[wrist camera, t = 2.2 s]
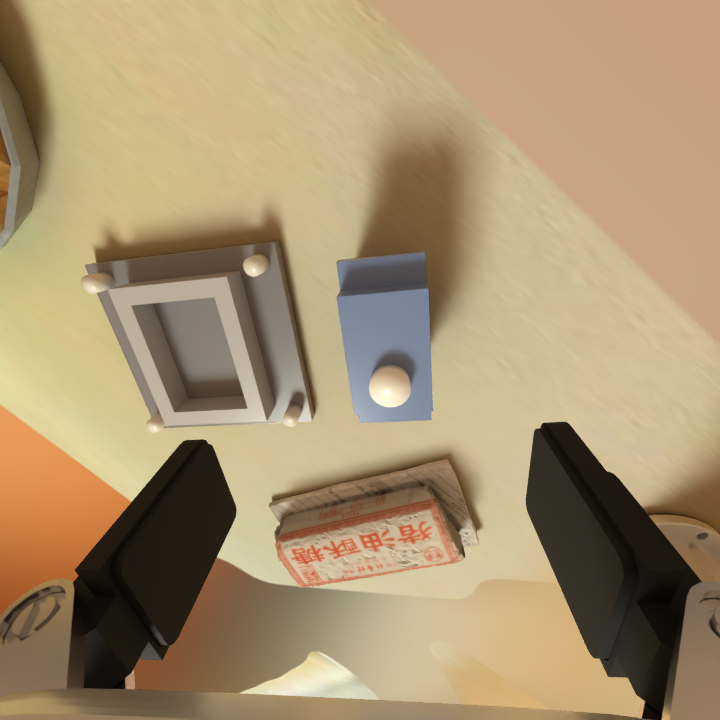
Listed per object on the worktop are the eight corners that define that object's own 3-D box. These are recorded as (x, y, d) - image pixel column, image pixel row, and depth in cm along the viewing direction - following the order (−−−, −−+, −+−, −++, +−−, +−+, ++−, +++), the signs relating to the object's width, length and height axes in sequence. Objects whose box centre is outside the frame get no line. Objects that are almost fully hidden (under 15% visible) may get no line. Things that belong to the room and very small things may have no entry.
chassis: (278, 240, 23) (263, 245, 20) (314, 414, 29) (306, 436, 26) (95, 262, 25) (59, 270, 22) (163, 421, 31) (141, 442, 28)
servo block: (417, 240, 22) (428, 258, 15) (424, 375, 26) (434, 441, 19) (350, 248, 23) (329, 269, 16) (366, 379, 27) (356, 444, 20)
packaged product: (303, 607, 33) (253, 539, 30) (313, 560, 38) (271, 496, 34) (489, 579, 29) (457, 496, 25) (477, 530, 33) (448, 452, 30)
